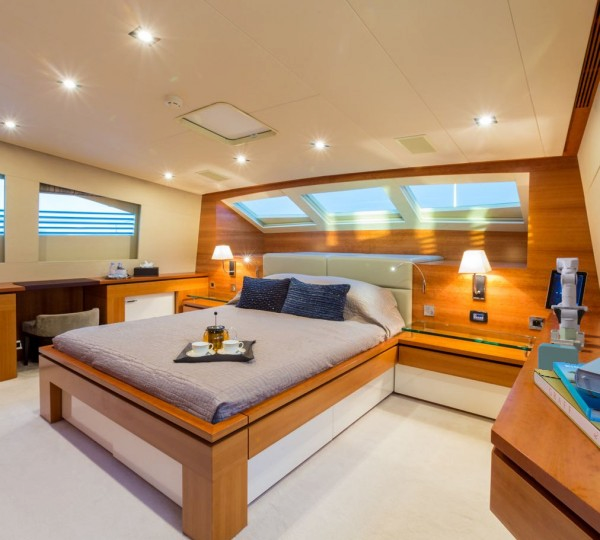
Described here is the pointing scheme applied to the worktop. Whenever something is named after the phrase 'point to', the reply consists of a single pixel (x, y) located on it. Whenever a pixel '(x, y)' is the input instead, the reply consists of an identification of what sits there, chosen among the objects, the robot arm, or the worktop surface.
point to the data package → (556, 355)
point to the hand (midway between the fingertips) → (569, 324)
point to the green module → (568, 333)
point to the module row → (556, 340)
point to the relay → (578, 345)
